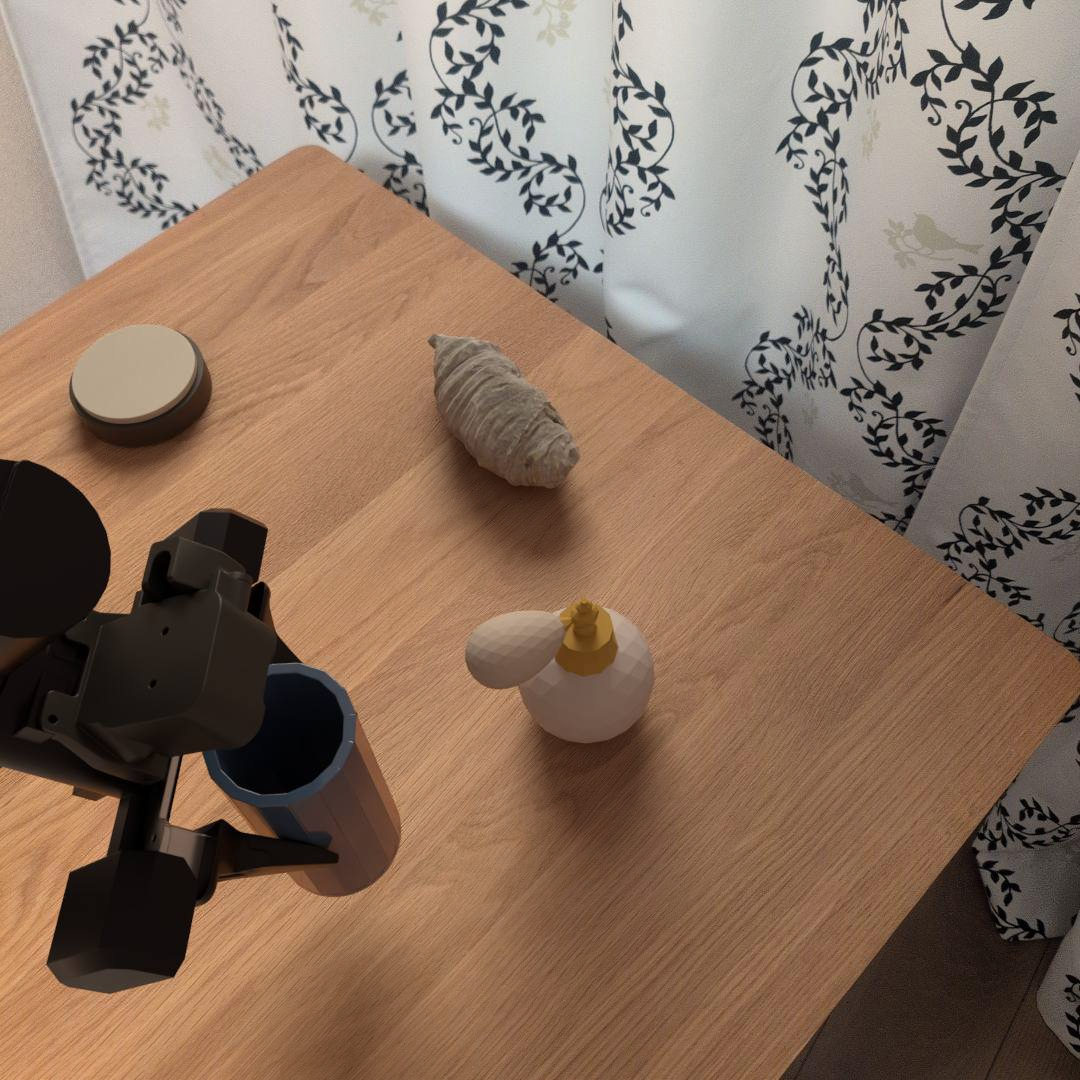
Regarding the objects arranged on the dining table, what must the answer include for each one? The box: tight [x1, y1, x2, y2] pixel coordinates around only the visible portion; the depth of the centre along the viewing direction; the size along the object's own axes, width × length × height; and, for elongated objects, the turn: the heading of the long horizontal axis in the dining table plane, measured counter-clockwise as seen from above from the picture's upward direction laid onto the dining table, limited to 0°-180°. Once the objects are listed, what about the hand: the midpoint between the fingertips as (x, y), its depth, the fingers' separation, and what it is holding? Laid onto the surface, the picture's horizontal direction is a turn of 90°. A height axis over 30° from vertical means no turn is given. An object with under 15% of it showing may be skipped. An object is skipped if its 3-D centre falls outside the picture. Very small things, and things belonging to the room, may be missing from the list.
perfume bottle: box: [464, 596, 655, 744], centre depth 60 cm, size 8×10×12 cm
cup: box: [201, 663, 402, 898], centre depth 51 cm, size 6×6×13 cm
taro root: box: [427, 333, 581, 489], centre depth 73 cm, size 6×14×8 cm, turn 36°
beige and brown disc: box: [68, 323, 213, 448], centre depth 78 cm, size 9×9×3 cm
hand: (343, 789), depth 50 cm, fingers closed on cup, 6 cm apart
